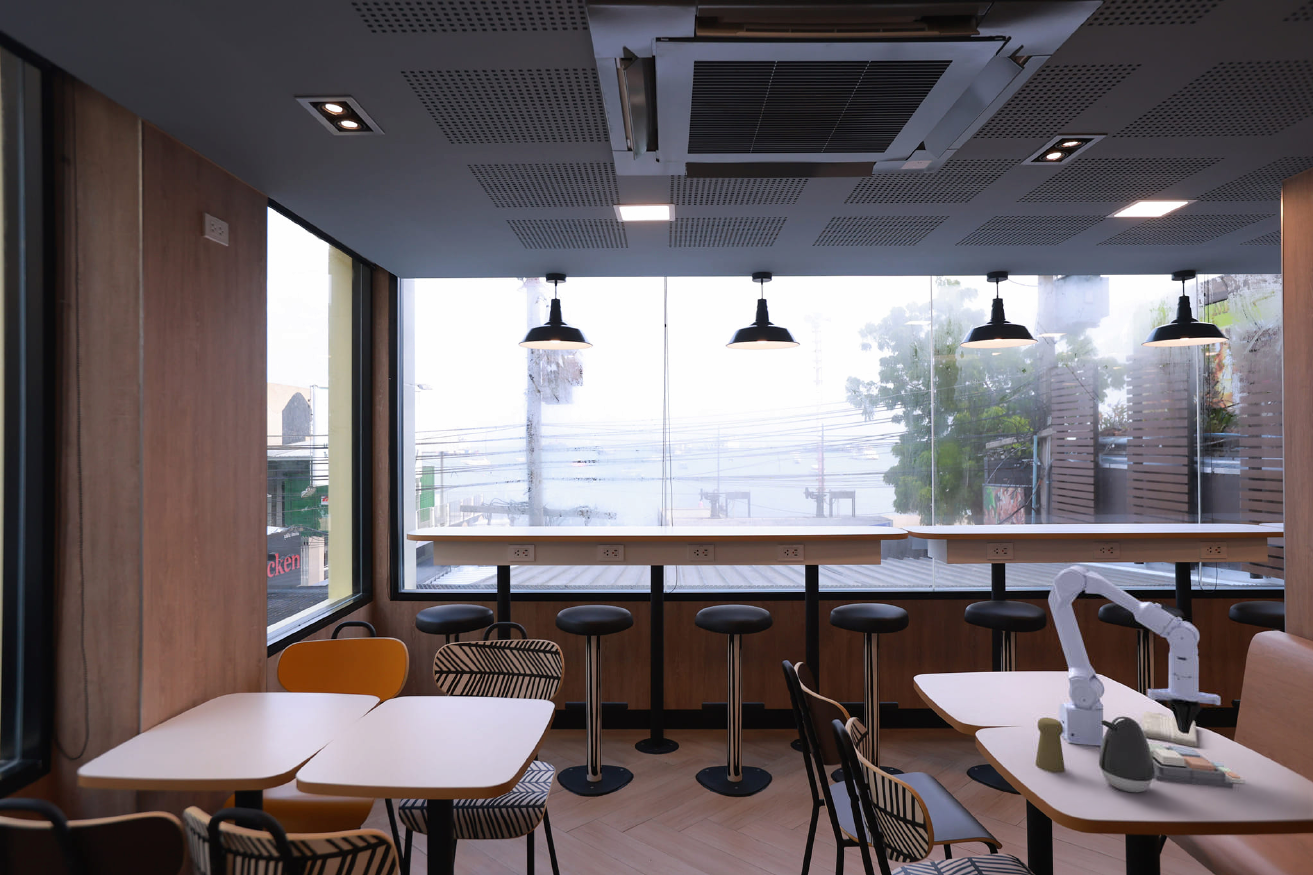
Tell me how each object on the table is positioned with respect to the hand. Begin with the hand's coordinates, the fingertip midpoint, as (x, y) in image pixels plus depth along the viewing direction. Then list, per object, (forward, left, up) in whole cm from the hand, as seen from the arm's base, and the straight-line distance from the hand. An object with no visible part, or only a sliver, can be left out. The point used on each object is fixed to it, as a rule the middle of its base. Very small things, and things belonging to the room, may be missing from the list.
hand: (1183, 731), depth 167 cm
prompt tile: (+7, -4, -8) cm, 11 cm away
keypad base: (-3, -4, -8) cm, 9 cm away
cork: (-32, -10, -8) cm, 35 cm away
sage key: (-6, -1, -6) cm, 9 cm away
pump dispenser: (-19, -17, -8) cm, 27 cm away
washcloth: (+7, +22, -8) cm, 25 cm away
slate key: (0, -1, -6) cm, 6 cm away
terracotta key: (0, -7, -6) cm, 9 cm away
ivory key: (-6, -7, -5) cm, 10 cm away
